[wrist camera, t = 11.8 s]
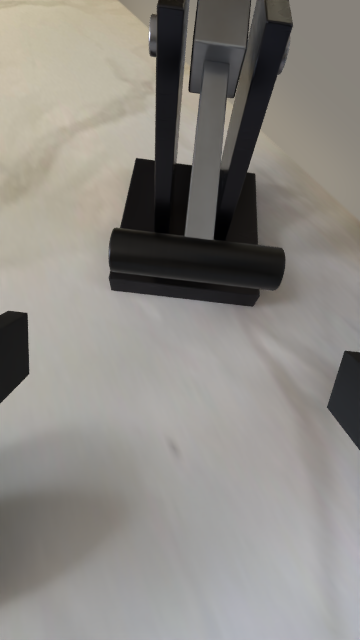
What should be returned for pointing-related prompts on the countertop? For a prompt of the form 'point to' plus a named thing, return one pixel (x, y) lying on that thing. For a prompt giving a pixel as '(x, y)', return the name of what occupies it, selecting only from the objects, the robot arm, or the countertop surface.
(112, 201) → the countertop surface
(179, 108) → the black lever stand
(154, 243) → the lever
